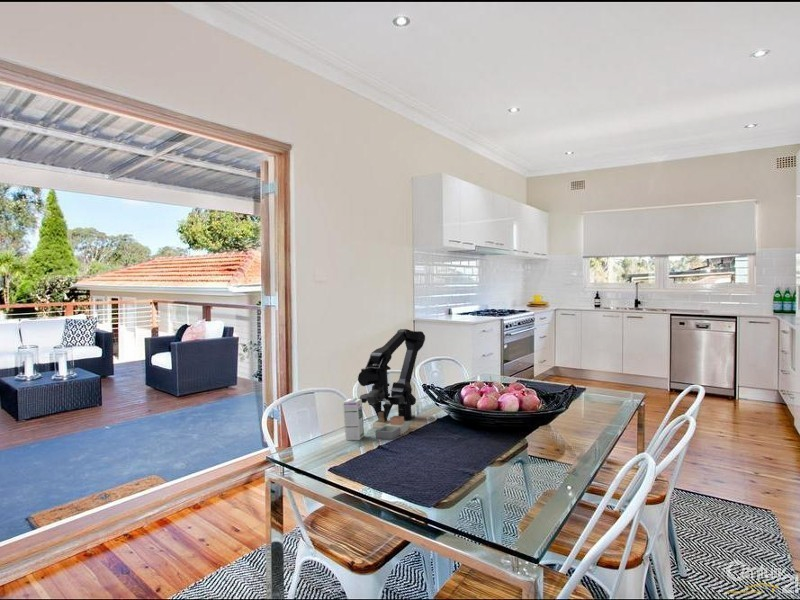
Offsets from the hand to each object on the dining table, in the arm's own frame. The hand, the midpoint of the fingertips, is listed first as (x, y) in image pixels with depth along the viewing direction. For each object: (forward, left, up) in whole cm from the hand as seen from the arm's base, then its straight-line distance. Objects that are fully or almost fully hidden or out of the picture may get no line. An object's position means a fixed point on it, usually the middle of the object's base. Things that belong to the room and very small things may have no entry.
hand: (382, 420), depth 196 cm
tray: (+13, +9, -2) cm, 16 cm away
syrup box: (+18, -2, -3) cm, 18 cm away
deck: (+5, +9, -2) cm, 11 cm away
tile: (+5, +9, 0) cm, 11 cm away
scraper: (0, 0, -2) cm, 2 cm away
